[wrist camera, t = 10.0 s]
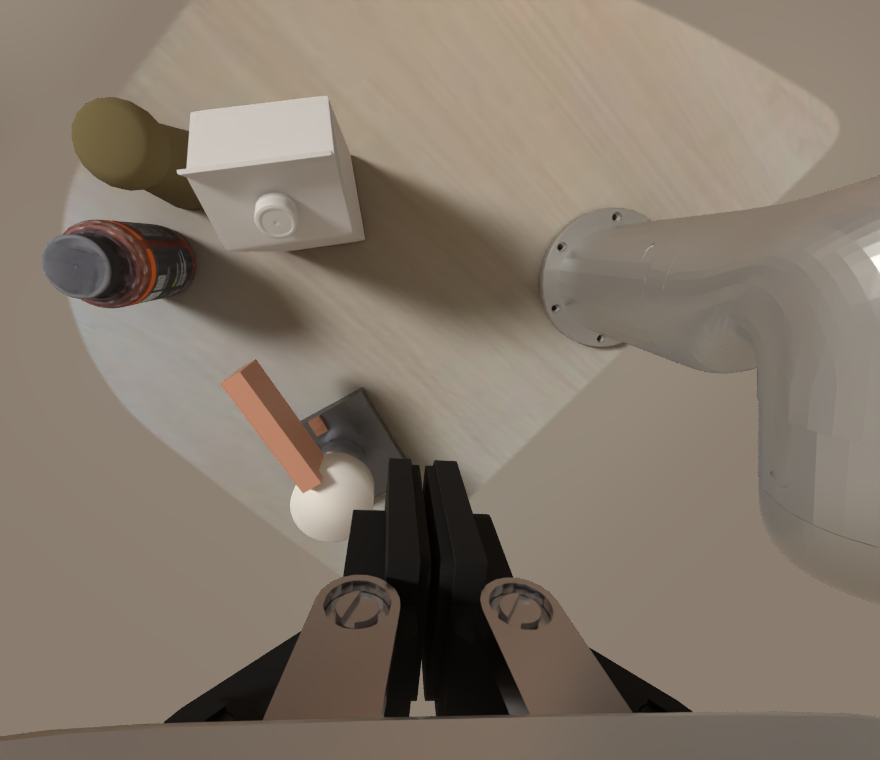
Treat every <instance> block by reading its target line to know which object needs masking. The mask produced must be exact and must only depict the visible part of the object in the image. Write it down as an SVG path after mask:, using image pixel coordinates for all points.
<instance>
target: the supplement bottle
mask: <svg viewBox="0 0 880 760" xmlns="http://www.w3.org/2000/svg"><path fill="white" fill-rule="evenodd" d="M42 265H43V270H44V272H45V275H46V277H47V279H48V280H49V281H50V283H51V284H52V285H53V286H54V287H55V288H56V289H58V290H59V291H60V292H62V293H63V294H65V295H67V296H70V297H73V298H78V299H81V300H82V301H85V302H86V303H89V304H92V305H95V306H98V307H103V308H120V307H125V306H130V305H134V304H139V303H143V302H148V301H152V300H157V299H161V298H165V297H170V296H173V295H176V294H178V293H180V292H182V291H183V290H185V289H186V288H187V287H188V286H189V284H190V283H191V281H192V280H193V277H194V274H195V258H194V255H193V252H192V250H191V248H190V247H189V245H188V244H187V242H186V241H185V240H184V239H183V238H182V237H181V236H180V235H179V234H177V233H176V232H174V231H173V230H171V229H169V228H166V227H163V226H159V225H153V224H142V223H131V222H119V221H109V220H88V221H83V222H80V223H77V224H75V225H73V226H71V227H69V228H68V229H67V230H66V231H65V232H64V233H63V234H62V235H60V236H58V237H56V238H54V239H52V240H51V241H50V242H49V243H48V244H47V245H46V247H45V249H44V251H43V255H42Z"/></svg>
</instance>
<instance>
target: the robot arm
mask: <svg viewBox="0 0 880 760" xmlns="http://www.w3.org/2000/svg"><path fill="white" fill-rule="evenodd" d="M613 215H614V216H615V218H614V220H612V216H613ZM559 244H560V245H561V249H560V250H558V248H557V246H558V245H559ZM540 295H541V300H542V304H543V307H544V309H545V312H546V314H547V316H548V317H549V319H550V321H551V322H552V324H553V325H554V326H555V327H556V328H557V329H558V330H559V331H560V332H561V333H562V334H564V335H566V336H567V337H569V338H570V339H572V340H574V341H576V342H578V343H581V344H585V345H589V346H595V347H606V346H614V345H618V344H621V343H624V342H625V343H627V344H630V345H632V346H635V347H637V348H640V349H643V350H645V351H648V352H651V353H653V354H656V355H658V356H661V357H664V358H666V359H669V360H671V361H674V362H676V363H680V364H682V365H685V366H688V367H691V368H693V369H697V370H700V371H704V372H711V373H734V372H742V371H747V370H751V369H755V368H757V398H758V401H759V430H758V431H759V432H758V477H759V503H760V511H761V516H762V520H763V523H764V526H765V529H766V531H767V533H768V535H769V537H770V539H771V540H772V542H773V543H774V545H775V546H776V547H777V548H778V549H779V551H780V552H781V553H782V554H783V555H784V556H785V557H786V558H787V559H788V560H789V561H790V562H792V563H793V564H794V565H795V566H797V567H798V568H800V569H801V570H802V571H804V572H805V573H807V574H808V575H810V576H812V577H814V578H815V579H817V580H819V581H821V582H823V583H825V584H827V585H828V586H831V587H833V588H835V589H837V590H840V591H842V592H845V593H847V594H849V595H852V596H855V597H858V598H861V599H863V600H866V601H869V602H873V603H876V604H879V605H880V175H879V176H876V177H873V178H870V179H867V180H863V181H860V182H857V183H854V184H850V185H847V186H844V187H841V188H837V189H834V190H831V191H827V192H824V193H821V194H817V195H814V196H811V197H807V198H803V199H799V200H795V201H791V202H787V203H783V204H777V205H771V206H765V207H759V208H753V209H747V210H741V211H732V212H724V213H717V214H709V215H701V216H692V217H684V218H675V219H666V220H658V221H651V220H650V219H648V218H647V217H646V216H644V215H642V214H640V213H638V212H635V211H633V210H629V209H624V208H604V209H599V210H595V211H592V212H589V213H586V214H584V215H582V216H580V217H578V218H576V219H575V220H573V221H572V222H570V223H569V224H568V225H567V226H566V227H564V228H563V229H562V230H561V231H560V233H559V234H558V235H557V236H556V237H555V239H554V240H553V242H552V243H551V245H550V247H549V248H548V250H547V252H546V255H545V257H544V260H543V263H542V267H541V272H540ZM553 305H554V306H555V309H554V310H551V308H552V306H553ZM598 336H600V337H599V339H598V340H597V337H598ZM421 659H422V671H423V685H424V697H425V701H435V710H436V716H430V717H409V713H410V703H411V701H416V700H417V695H418V686H419V677H420V668H421ZM0 760H880V717H876V716H866V715H858V714H850V713H814V712H813V713H812V712H777V711H772V712H771V711H770V712H692V711H691V710H690V709H688V708H687V707H685V706H684V705H683V704H681V703H680V702H679V701H677V700H676V699H674V698H672V697H671V696H669V695H667V694H666V693H664V692H662V691H660V690H659V689H657V688H656V687H654V686H652V685H651V684H649V683H647V682H646V681H644V680H642V679H641V678H639V677H637V676H636V675H634V674H632V673H631V672H629V671H627V670H626V669H624V668H622V667H621V666H619V665H617V664H616V663H614V662H612V661H611V660H609V659H608V658H606V657H604V656H602V655H601V654H599V653H598V652H596V651H594V650H593V649H591V648H589V647H588V646H587V644H586V643H585V641H584V640H583V638H582V637H581V635H580V634H579V632H578V631H577V630H576V628H575V626H574V625H573V623H572V622H571V620H570V619H569V617H568V616H567V614H566V613H565V611H564V610H563V608H562V607H561V605H560V604H559V603H558V601H557V600H556V599H555V598H554V596H553V595H552V594H551V593H550V592H549V591H547V590H546V589H544V588H543V587H541V586H540V585H538V584H535V583H533V582H531V581H529V580H524V579H520V578H513V576H512V573H511V570H510V568H509V565H508V562H507V560H506V557H505V554H504V552H503V549H502V546H501V544H500V541H499V539H498V536H497V533H496V530H495V528H494V525H493V522H492V520H491V517H490V516H489V515H487V514H473V513H472V510H471V507H470V503H469V500H468V497H467V493H466V490H465V487H464V484H463V480H462V477H461V474H460V471H459V468H458V464H457V462H456V461H438V460H434V463H433V466H426V467H425V473H424V483H423V490H422V482H421V475H420V467H419V465H412V464H411V459H397V458H389V463H388V475H387V488H386V501H385V511H380V510H353V514H352V521H351V528H350V534H349V541H348V548H347V555H346V561H345V568H344V575H343V577H341V578H339V579H337V580H334V581H332V582H330V583H329V584H328V585H326V586H325V587H324V588H323V589H321V591H320V592H319V594H318V595H317V597H316V598H315V601H314V603H313V605H312V608H311V610H310V612H309V615H308V617H307V619H306V622H305V624H304V626H303V628H302V631H301V632H299V633H298V634H296V635H294V636H293V637H291V638H290V639H288V640H287V641H285V642H283V643H282V644H280V645H279V646H278V647H276V648H274V649H273V650H271V651H270V652H268V653H266V654H265V655H263V656H262V657H260V658H259V659H257V660H255V661H254V662H252V663H251V664H249V665H248V666H246V667H245V668H243V669H241V670H240V671H238V672H237V673H235V674H234V675H232V676H231V677H229V678H227V679H226V680H224V681H223V682H221V683H220V684H218V685H217V686H215V687H214V688H212V689H211V690H209V691H207V692H206V693H204V694H203V695H201V696H200V697H198V698H197V699H195V700H193V701H192V702H190V703H189V704H187V705H186V706H184V707H182V708H181V709H180V710H178V711H177V712H176V713H175V714H174V715H172V716H171V717H170V718H168V719H167V720H166V721H165V722H164V723H155V724H135V725H119V726H103V727H87V728H72V729H56V730H45V731H37V732H29V733H22V734H15V735H8V736H0Z"/></svg>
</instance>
